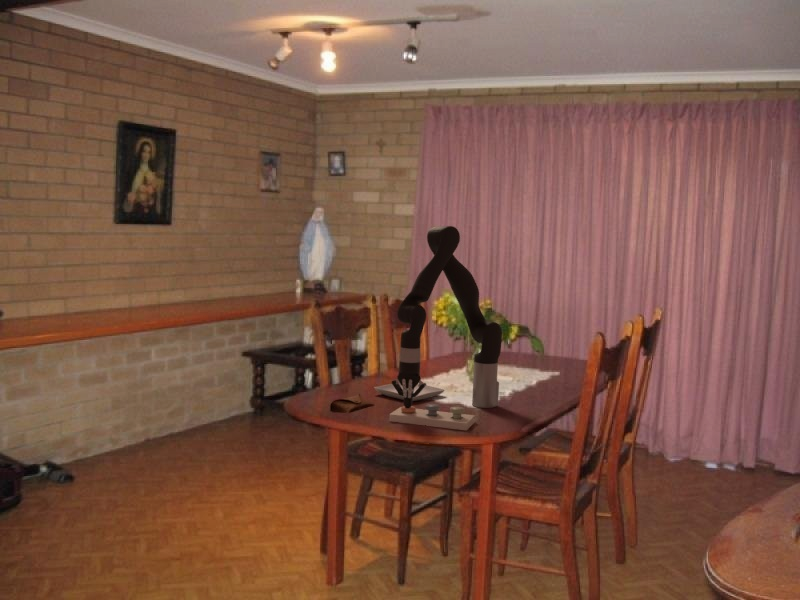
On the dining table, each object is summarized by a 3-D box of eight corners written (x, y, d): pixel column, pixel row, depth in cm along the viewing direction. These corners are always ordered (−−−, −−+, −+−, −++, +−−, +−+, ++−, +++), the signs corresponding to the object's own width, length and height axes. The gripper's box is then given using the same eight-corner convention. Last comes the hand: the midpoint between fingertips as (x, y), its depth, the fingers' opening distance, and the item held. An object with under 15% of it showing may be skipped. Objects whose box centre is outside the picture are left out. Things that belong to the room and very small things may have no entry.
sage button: (459, 416, 279) (460, 406, 279) (467, 420, 274) (467, 409, 274) (446, 417, 277) (447, 407, 276) (454, 421, 272) (454, 410, 272)
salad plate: (445, 396, 320) (446, 388, 320) (411, 405, 304) (412, 396, 304) (407, 388, 334) (407, 380, 334) (372, 395, 318) (372, 387, 318)
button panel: (474, 422, 280) (474, 415, 280) (466, 430, 269) (466, 423, 268) (400, 413, 289) (400, 406, 289) (389, 421, 278) (389, 414, 277)
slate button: (435, 413, 282) (435, 403, 282) (442, 417, 277) (442, 406, 277) (422, 415, 280) (422, 404, 279) (429, 418, 275) (429, 407, 275)
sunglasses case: (348, 413, 286) (341, 396, 288) (334, 420, 290) (327, 403, 291) (376, 404, 302) (369, 388, 303) (363, 411, 305) (356, 395, 306)
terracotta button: (411, 415, 285) (411, 405, 285) (418, 419, 280) (418, 408, 280) (398, 416, 283) (398, 406, 282) (404, 420, 278) (405, 409, 278)
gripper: (430, 360, 281) (428, 407, 283) (395, 356, 285) (393, 403, 287) (424, 363, 274) (422, 412, 275) (388, 359, 278) (386, 407, 280)
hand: (407, 407), depth 281 cm, fingers closed
